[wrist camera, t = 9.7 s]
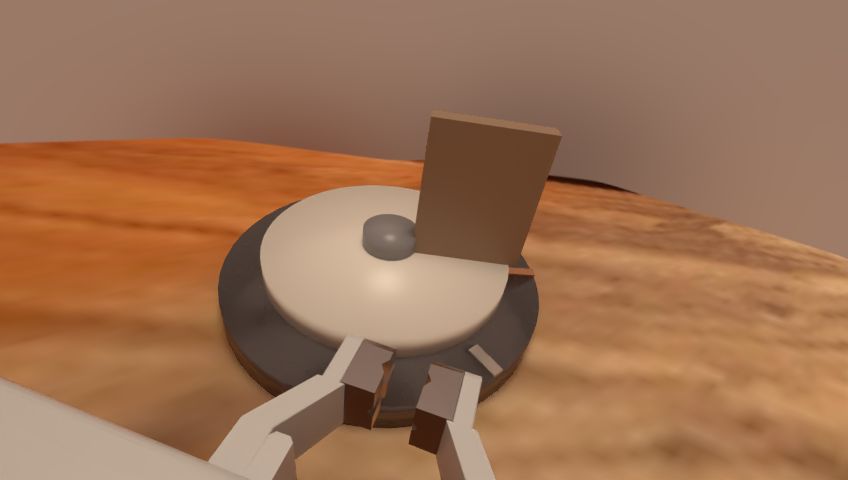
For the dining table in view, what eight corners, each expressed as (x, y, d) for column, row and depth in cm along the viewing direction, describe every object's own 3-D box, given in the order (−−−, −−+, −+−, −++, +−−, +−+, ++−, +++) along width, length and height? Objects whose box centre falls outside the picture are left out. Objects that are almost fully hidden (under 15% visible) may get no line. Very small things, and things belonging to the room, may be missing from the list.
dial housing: (137, 349, 22) (125, 322, 20) (323, 188, 38) (323, 167, 37) (514, 491, 18) (528, 468, 17) (537, 246, 35) (545, 226, 34)
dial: (214, 337, 20) (163, 143, 14) (304, 189, 33) (298, 56, 27) (529, 376, 21) (609, 207, 15) (496, 216, 34) (532, 91, 28)
